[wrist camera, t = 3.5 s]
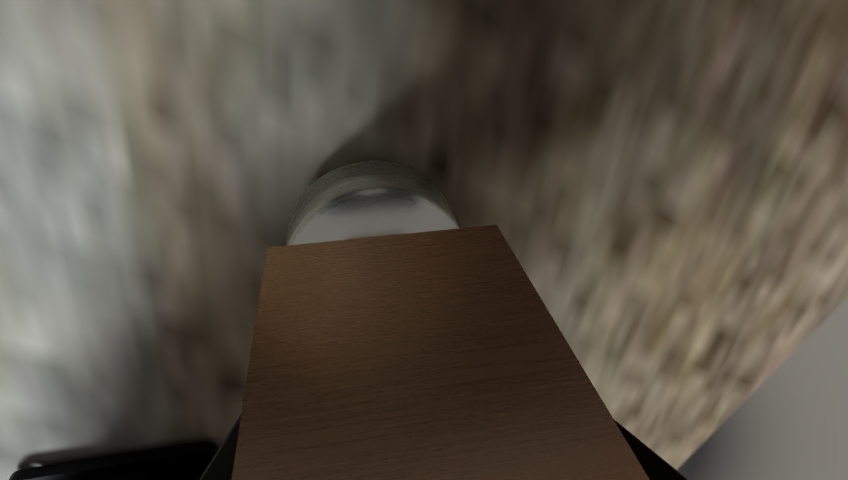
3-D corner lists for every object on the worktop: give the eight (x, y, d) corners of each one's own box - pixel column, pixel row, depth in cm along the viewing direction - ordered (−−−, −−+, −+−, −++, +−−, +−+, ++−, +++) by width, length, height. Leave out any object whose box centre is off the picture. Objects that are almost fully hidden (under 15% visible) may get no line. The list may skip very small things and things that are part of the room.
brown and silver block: (301, 318, 14) (285, 749, 7) (272, 155, 12) (192, 575, 4) (450, 300, 15) (584, 675, 7) (455, 142, 12) (672, 483, 5)
